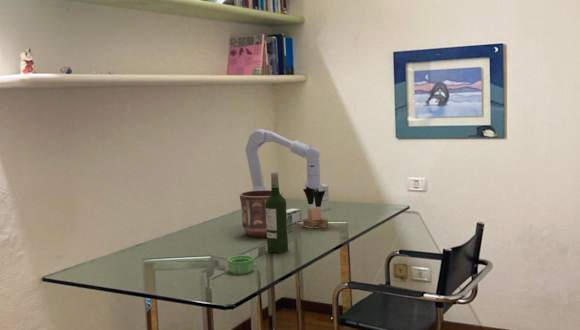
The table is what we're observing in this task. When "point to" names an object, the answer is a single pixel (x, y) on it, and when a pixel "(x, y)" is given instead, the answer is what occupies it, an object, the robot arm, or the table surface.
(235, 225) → the table surface
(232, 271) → the ramekin
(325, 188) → the supplement box
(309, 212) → the terracotta cube
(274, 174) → the wine bottle
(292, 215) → the syrup box
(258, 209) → the pottery
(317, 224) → the walnut block
